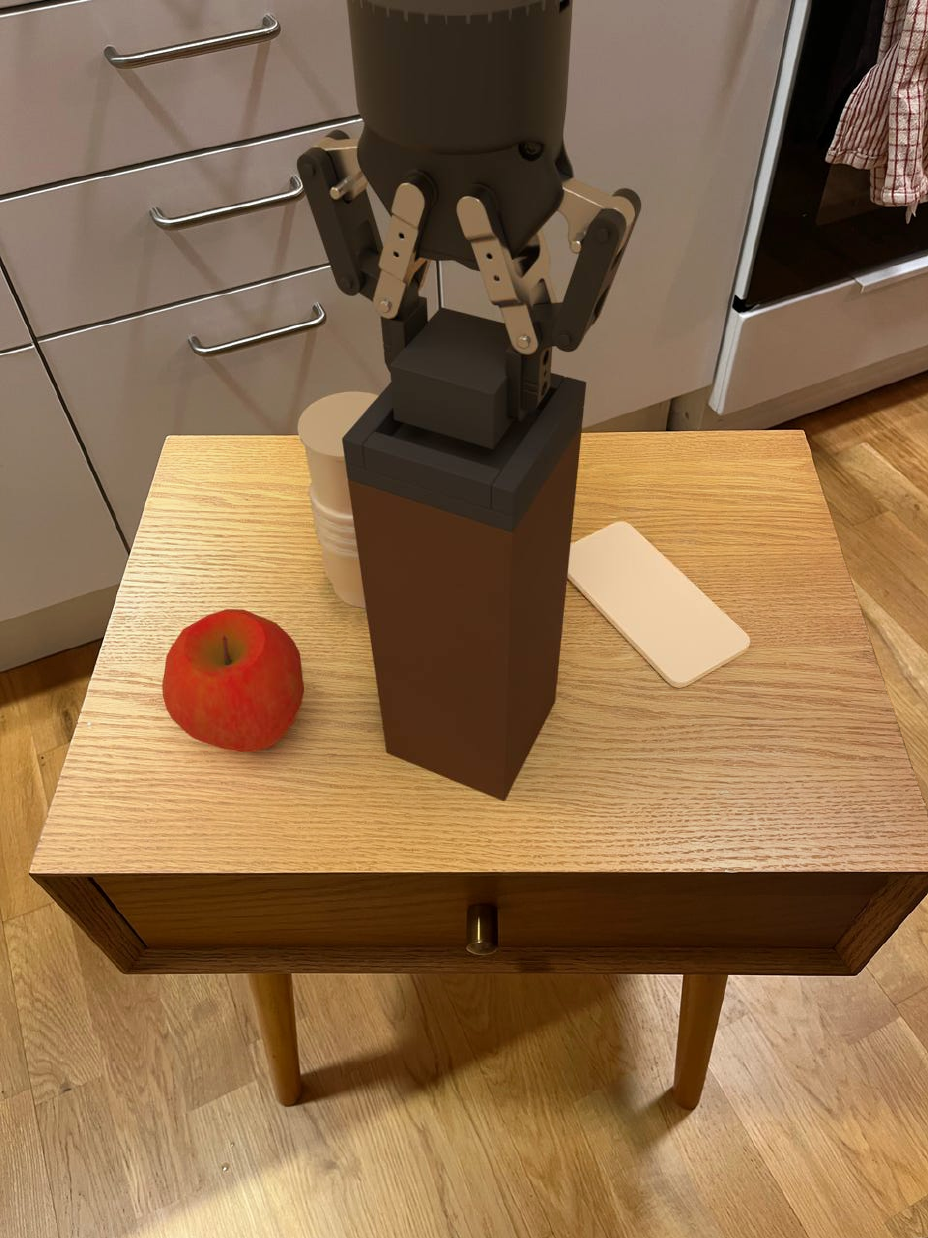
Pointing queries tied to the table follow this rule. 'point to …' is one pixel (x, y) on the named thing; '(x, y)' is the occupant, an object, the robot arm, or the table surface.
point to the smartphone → (654, 604)
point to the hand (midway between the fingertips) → (466, 392)
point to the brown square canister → (466, 581)
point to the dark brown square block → (454, 378)
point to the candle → (334, 487)
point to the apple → (233, 681)
